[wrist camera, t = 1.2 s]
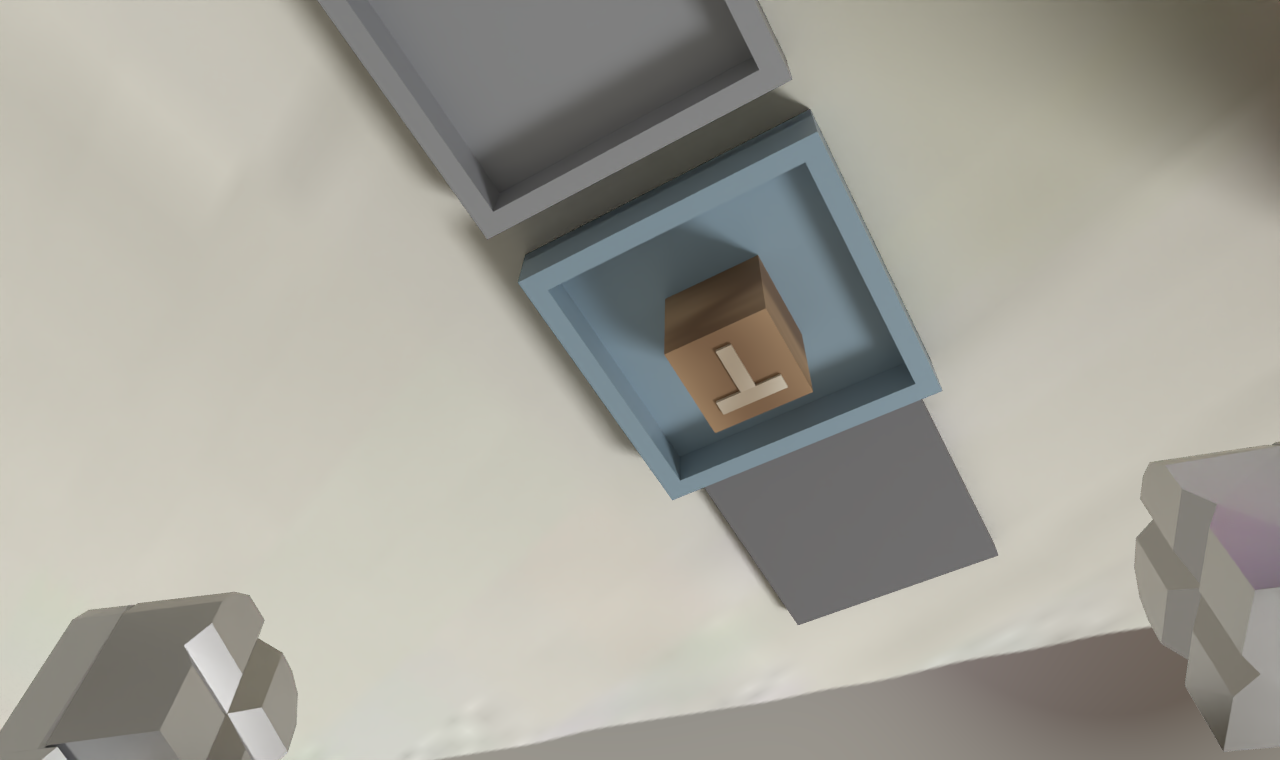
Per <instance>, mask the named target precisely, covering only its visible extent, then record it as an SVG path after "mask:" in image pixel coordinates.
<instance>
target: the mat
mask: <svg viewBox="0 0 1280 760" xmlns="http://www.w3.org/2000/svg"><path fill="white" fill-rule="evenodd" d="M704 488H705V489H706V491H707V492H708V494H709V495H710V497H711V498H712V500H713V501H714V503H715V504H716V506H717V507H718V508H719V510H720V511H721V513H722V514H723V516H724V517H725V519H726V520H727V522H728V523H729V525H730V526H731V528H732V529H733V530H734V532H735V533H736V535H737V536H738V538H739V539H740V541H741V542H742V544H743V545H744V547H745V548H746V550H747V551H748V552H749V554H750V555H751V557H752V558H753V560H754V561H755V563H756V564H757V566H758V567H759V569H760V570H761V572H762V573H763V574H764V576H765V577H766V579H767V580H768V582H769V583H770V585H771V586H772V588H773V589H774V591H775V592H776V594H777V595H778V596H779V598H780V599H781V601H782V602H783V604H784V605H785V607H786V608H787V610H788V611H789V613H790V614H791V616H792V617H793V618H794V620H795V621H796V623H797V624H798V625H800V624H803V623H806V622H809V621H812V620H814V619H817V618H820V617H823V616H826V615H829V614H832V613H835V612H837V611H840V610H843V609H846V608H849V607H852V606H855V605H857V604H860V603H863V602H866V601H869V600H872V599H875V598H878V597H880V596H883V595H886V594H889V593H892V592H895V591H898V590H901V589H903V588H906V587H909V586H912V585H915V584H918V583H921V582H923V581H926V580H929V579H932V578H935V577H938V576H941V575H944V574H946V573H949V572H952V571H955V570H958V569H961V568H964V567H967V566H969V565H972V564H975V563H978V562H981V561H984V560H987V559H989V558H992V557H995V556H998V553H997V550H996V548H995V545H994V542H993V540H992V538H991V536H990V534H989V532H988V530H987V528H986V526H985V524H984V522H983V520H982V518H981V516H980V514H979V512H978V510H977V508H976V506H975V504H974V502H973V500H972V498H971V496H970V494H969V492H968V490H967V488H966V486H965V484H964V482H963V480H962V478H961V476H960V474H959V472H958V470H957V468H956V466H955V464H954V462H953V460H952V458H951V456H950V454H949V452H948V450H947V448H946V446H945V444H944V442H943V440H942V438H941V436H940V434H939V432H938V430H937V428H936V426H935V424H934V422H933V420H932V418H931V416H930V414H929V412H928V410H927V408H926V406H925V404H924V402H923V400H922V399H921V400H919V401H916V402H914V403H911V404H909V405H906V406H904V407H901V408H899V409H896V410H894V411H891V412H889V413H886V414H884V415H882V416H879V417H877V418H874V419H872V420H869V421H867V422H864V423H862V424H859V425H857V426H854V427H852V428H849V429H847V430H845V431H842V432H840V433H837V434H835V435H832V436H830V437H827V438H825V439H822V440H820V441H817V442H815V443H812V444H810V445H808V446H805V447H803V448H800V449H798V450H795V451H793V452H790V453H788V454H785V455H783V456H780V457H778V458H775V459H773V460H771V461H768V462H766V463H763V464H761V465H758V466H756V467H753V468H751V469H748V470H746V471H743V472H741V473H738V474H736V475H733V476H731V477H729V478H726V479H724V480H721V481H719V482H716V483H714V484H711V485H709V486H706V487H704Z"/></svg>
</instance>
